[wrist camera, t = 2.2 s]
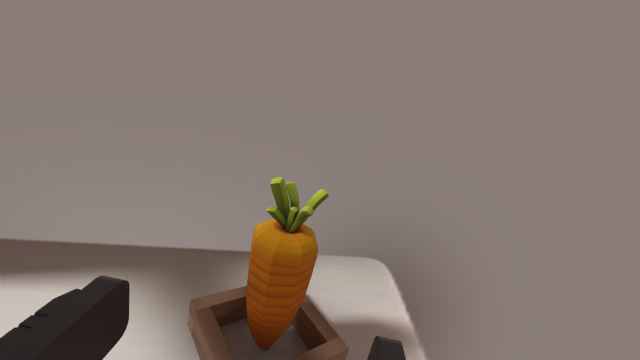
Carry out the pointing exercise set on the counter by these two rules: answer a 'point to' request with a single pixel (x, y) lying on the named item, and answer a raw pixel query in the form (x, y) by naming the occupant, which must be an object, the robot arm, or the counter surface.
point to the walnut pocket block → (232, 306)
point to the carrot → (280, 264)
